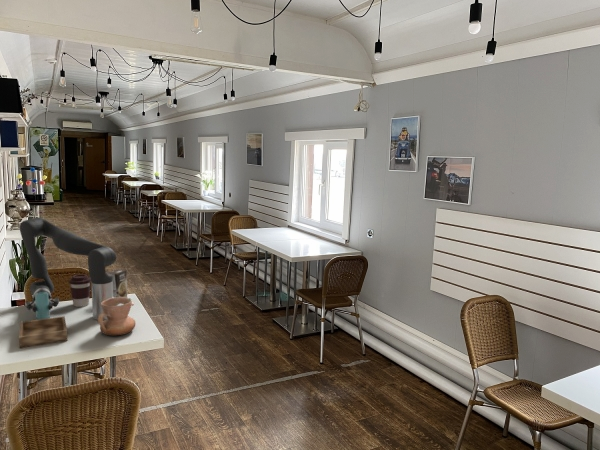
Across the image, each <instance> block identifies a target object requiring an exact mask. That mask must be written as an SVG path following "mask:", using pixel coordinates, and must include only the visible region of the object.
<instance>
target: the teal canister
mask: <svg viewBox="0 0 600 450" xmlns="http://www.w3.org/2000/svg"><path fill="white" fill-rule="evenodd" d="M35 303H36V312H35V315H36V320H39V319H47V318H51V315H50V310H49V298H48V292H38V293H36V294H35Z"/></svg>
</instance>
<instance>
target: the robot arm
mask: <svg viewBox="0 0 600 450" xmlns="http://www.w3.org/2000/svg"><path fill="white" fill-rule="evenodd" d="M19 232H20V235H21V239H22V242H23V245H24V247H25V250H26V253H27V256H28V259H29V264H30V271H31V272H30V273H31V276H32V278H33V279H41V280H39V281H33V282H32V283H31V284H30V285H29V292H30V294H31V295H32V301H28V300H26V301H25V302H24V303H25V308H26V309H27V310H28V311H31V310H32V312H34V313H36V303H35V294H36V293H38V292H48V298H49V311H51V310H52V309H53V307H54V308H55V307H57V306H59V304H60V298H59V297H55V298H54V299H53V298H52V293H53V292H54V290H55V286H54V283H53V282H52V280H51V277H50V275H49V273H48V265H47V260H46V257H45V256H44V255H43V253H41V251H40V250H39V249H38V247H37V245H36V241H35V238H39V237H43V236H45V237H48V238H50V239H52V242H53V244H54V246H55V247H56V248H57V249H60V250H61V251H63V252H65V253H68V254H71V255H79V256H86V257H87V264H88V265H87V266H88V275H89V277H90V278H91V282H90V283H91V284H90V287H91V305H92V306H91V307H92V318H93V320H97V321H98V316H99V315H100V314H101V313H104V311H103V309H102V305H101V303H102V302H103V301H105V300H107V299H110V298H114V297H113V277H112V275H111V274H108V272H107V271H106V267H107V268H108V267H109V266H112V265H113V264H115V262H117V261H116V260H117V254H116V252H115V251H114V249H113V248H111V247H109V246H107V245H103V244H99V243H96V242H93V241H91V240H90V239H86V238H85V237H83V236H80V235H77V234H75V233H73V232H71V231H68V230H66V229H64V228H61V227H59V226H57V225H55V224H54V223H51V222H50V221H48V220H47V219H44V218H43V217H33V218H29V219H26V220H22V222H20V224H19ZM106 319H107V317H106V316H104V317H103V321H105V320H106Z"/></svg>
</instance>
